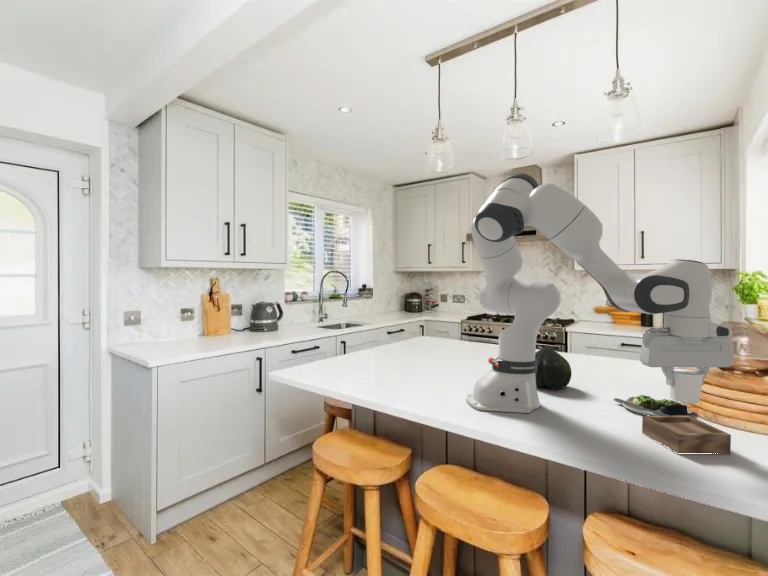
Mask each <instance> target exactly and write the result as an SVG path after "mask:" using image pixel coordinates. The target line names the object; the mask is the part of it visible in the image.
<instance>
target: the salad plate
mask: <svg viewBox="0 0 768 576" xmlns="http://www.w3.org/2000/svg"><path fill="white" fill-rule="evenodd" d="M613 401H614V402H617V403H619V404H620V405H622V406H623V407H624V408H625V409H627V410H629V411H630V412H632V411H633V413H634V412H636V413H635V414H637V413H640V414H645V415H649V416H690V417H692V415H693V413H692V412H688V411H687V406H688V405H687V404H684V405H681V404H682V402H679V401H675V400H673V399H666V398H664V399H656V398H652V397H651V396H650V395H645V394H639V395H637V396H636V395H635V396H633V395H632V396H631V397H628V398H627V399H626V400H624V399H621V398H618V397H617V398H616V397H615V398H613ZM686 405H687V406H686ZM640 414H639V415H640ZM645 415H644V416H645Z"/></svg>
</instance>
